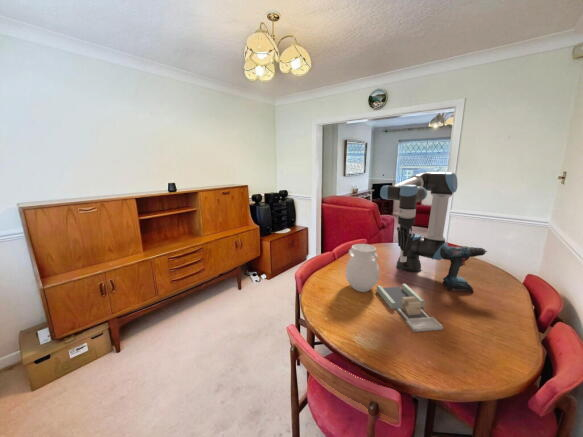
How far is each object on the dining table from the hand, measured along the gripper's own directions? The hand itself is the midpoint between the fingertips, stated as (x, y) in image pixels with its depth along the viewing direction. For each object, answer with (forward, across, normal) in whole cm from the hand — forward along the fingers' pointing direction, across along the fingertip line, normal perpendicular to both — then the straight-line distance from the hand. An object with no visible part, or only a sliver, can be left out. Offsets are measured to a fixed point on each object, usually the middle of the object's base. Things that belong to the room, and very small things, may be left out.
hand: (403, 261), depth 127 cm
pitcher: (+22, -14, -16) cm, 31 cm away
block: (+21, +11, 0) cm, 24 cm away
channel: (+22, -1, 0) cm, 22 cm away
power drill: (+22, -8, +39) cm, 45 cm away
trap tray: (+22, +22, 0) cm, 31 cm away
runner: (+22, +3, 0) cm, 22 cm away
